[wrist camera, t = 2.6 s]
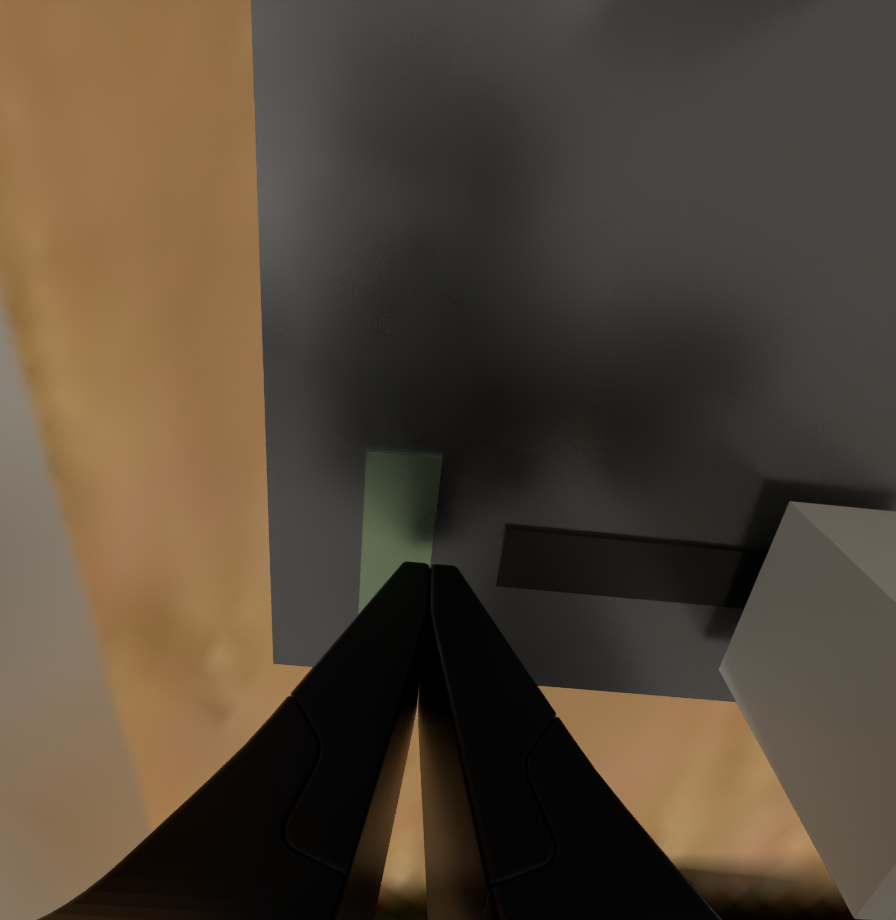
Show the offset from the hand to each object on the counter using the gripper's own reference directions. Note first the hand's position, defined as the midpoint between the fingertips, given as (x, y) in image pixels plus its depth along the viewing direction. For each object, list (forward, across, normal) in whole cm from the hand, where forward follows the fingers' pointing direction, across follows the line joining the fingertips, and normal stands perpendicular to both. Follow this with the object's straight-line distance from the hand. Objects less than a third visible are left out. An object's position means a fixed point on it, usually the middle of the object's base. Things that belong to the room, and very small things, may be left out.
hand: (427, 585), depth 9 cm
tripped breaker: (+1, -7, 0) cm, 7 cm away
